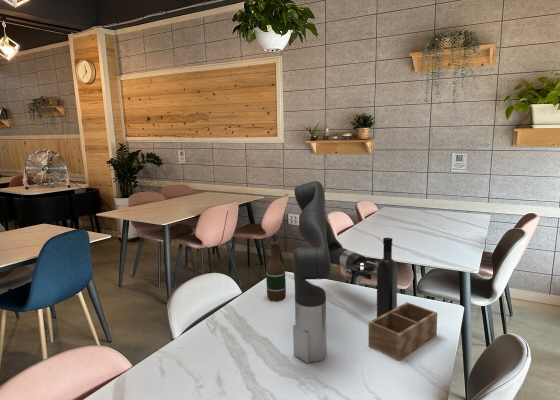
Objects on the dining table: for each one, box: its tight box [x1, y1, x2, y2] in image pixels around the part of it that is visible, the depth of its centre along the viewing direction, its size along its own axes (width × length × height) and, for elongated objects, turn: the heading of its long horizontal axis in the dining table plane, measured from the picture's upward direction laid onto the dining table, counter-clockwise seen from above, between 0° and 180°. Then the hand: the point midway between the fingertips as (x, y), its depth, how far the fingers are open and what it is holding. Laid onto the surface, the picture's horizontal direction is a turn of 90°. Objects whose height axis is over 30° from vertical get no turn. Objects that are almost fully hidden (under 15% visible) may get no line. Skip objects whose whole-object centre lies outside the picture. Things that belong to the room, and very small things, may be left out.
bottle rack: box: [368, 301, 438, 362], centre depth 122 cm, size 21×11×8 cm, turn 130°
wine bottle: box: [376, 237, 398, 318], centre depth 133 cm, size 6×6×30 cm
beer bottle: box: [265, 240, 287, 303], centre depth 156 cm, size 8×8×24 cm
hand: (380, 274), depth 136 cm, fingers open, 8 cm apart
